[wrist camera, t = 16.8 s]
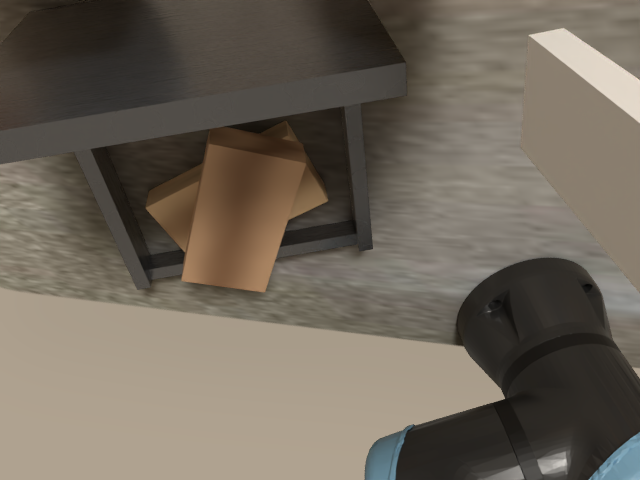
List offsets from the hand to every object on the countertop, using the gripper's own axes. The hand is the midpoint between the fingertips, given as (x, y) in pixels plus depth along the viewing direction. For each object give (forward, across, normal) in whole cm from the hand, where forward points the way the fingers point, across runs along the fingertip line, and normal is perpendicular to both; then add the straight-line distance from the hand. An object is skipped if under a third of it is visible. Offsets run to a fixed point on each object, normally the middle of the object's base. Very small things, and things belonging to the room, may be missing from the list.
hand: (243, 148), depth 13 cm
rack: (+30, +5, +15) cm, 33 cm away
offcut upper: (+27, +5, +19) cm, 34 cm away
